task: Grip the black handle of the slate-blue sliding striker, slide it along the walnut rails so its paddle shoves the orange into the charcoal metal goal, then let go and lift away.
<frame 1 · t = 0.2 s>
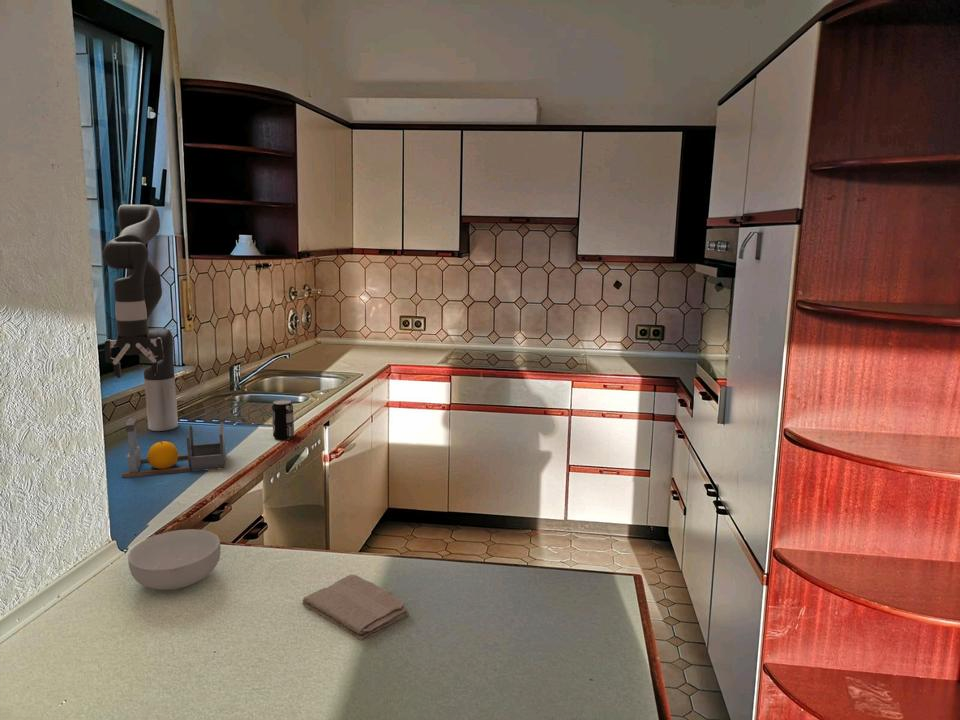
hand: (136, 376, 195), 27 cm above the counter, tool pointing down, fingers open, 8 cm apart
striker: (132, 445, 200), point 7 cm above the counter, slide at 0.0 cm
goal: (207, 462, 207), on the counter
beverage can: (283, 438, 232), on the counter
orange: (164, 467, 204), on the counter
cereal bowl: (177, 581, 142), on the counter
washcloth: (355, 613, 132), on the counter
rails: (148, 468, 203), on the counter
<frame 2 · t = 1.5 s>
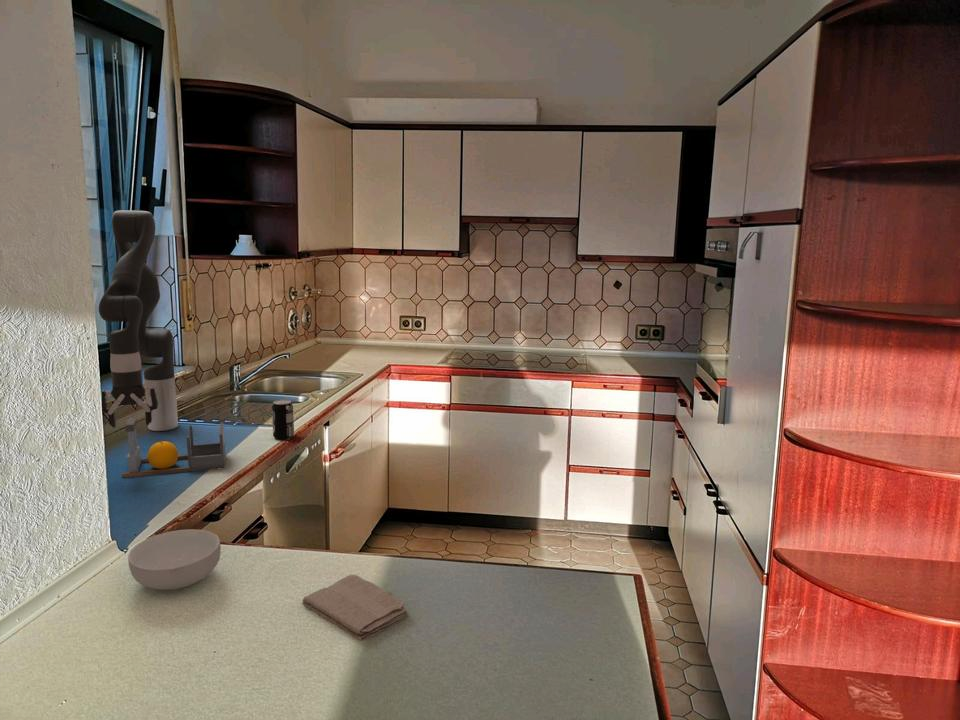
hand: (131, 425, 199), 13 cm above the counter, tool pointing down, fingers open, 8 cm apart
nothing on the counter moved.
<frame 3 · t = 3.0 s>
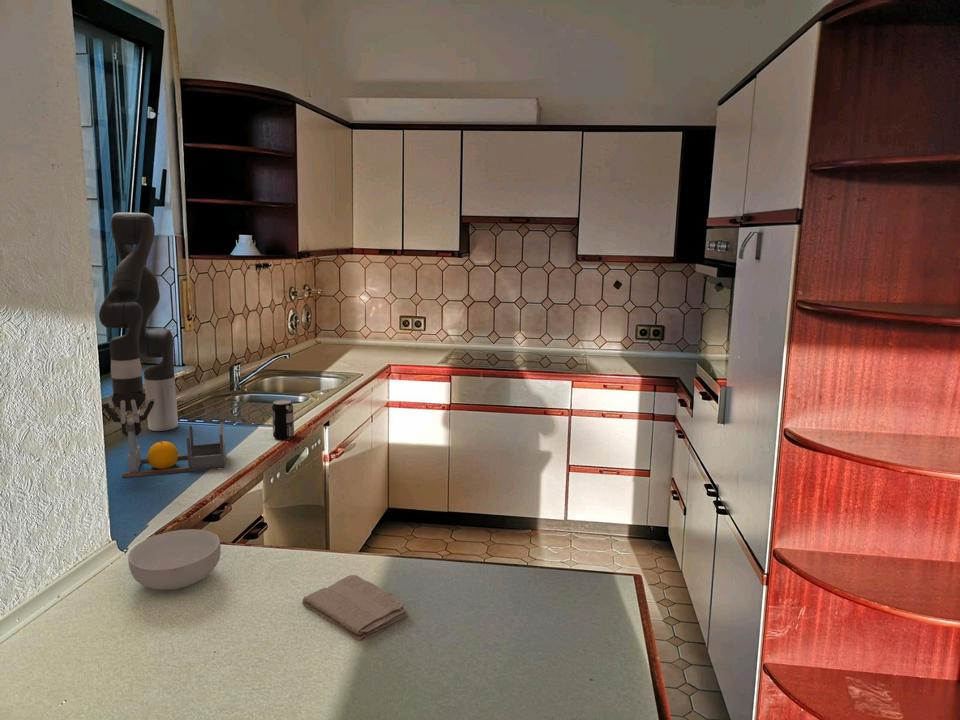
hand: (132, 435, 200), 10 cm above the counter, tool pointing down, fingers closed on striker, 2 cm apart
striker: (133, 445, 200), point 7 cm above the counter, slide at 0.0 cm, touching gripper
everything else where it was.
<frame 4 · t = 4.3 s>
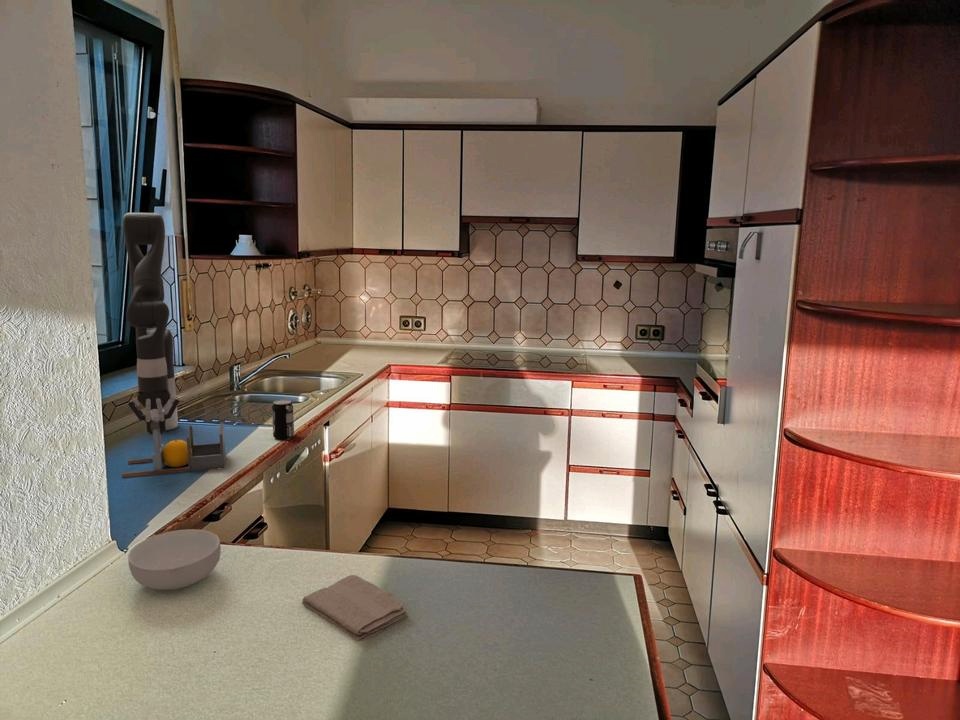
hand: (156, 433, 202), 10 cm above the counter, tool pointing down, fingers closed on striker, 2 cm apart
striker: (157, 443, 202), point 7 cm above the counter, slide at 6.3 cm, touching orange, gripper
orange: (178, 465, 205), on the counter, touching striker
everything else where it was.
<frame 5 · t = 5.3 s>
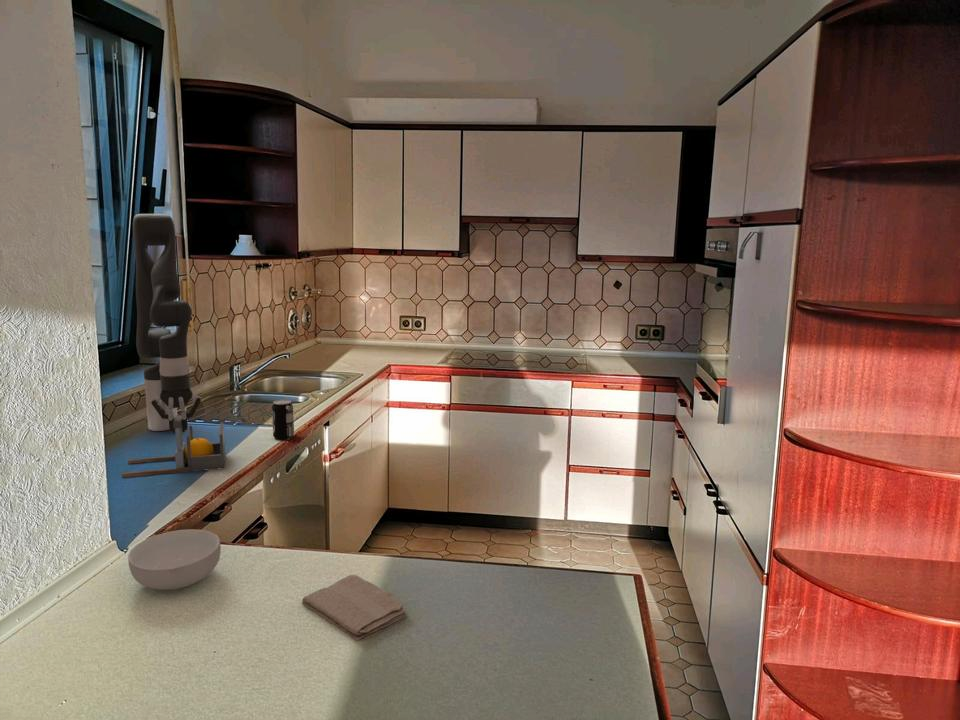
hand: (178, 431, 203), 10 cm above the counter, tool pointing down, fingers closed on striker, 2 cm apart
striker: (179, 441, 204), point 7 cm above the counter, slide at 12.1 cm, touching orange, gripper
orange: (199, 463, 207), on the counter, touching striker
everything else where it was.
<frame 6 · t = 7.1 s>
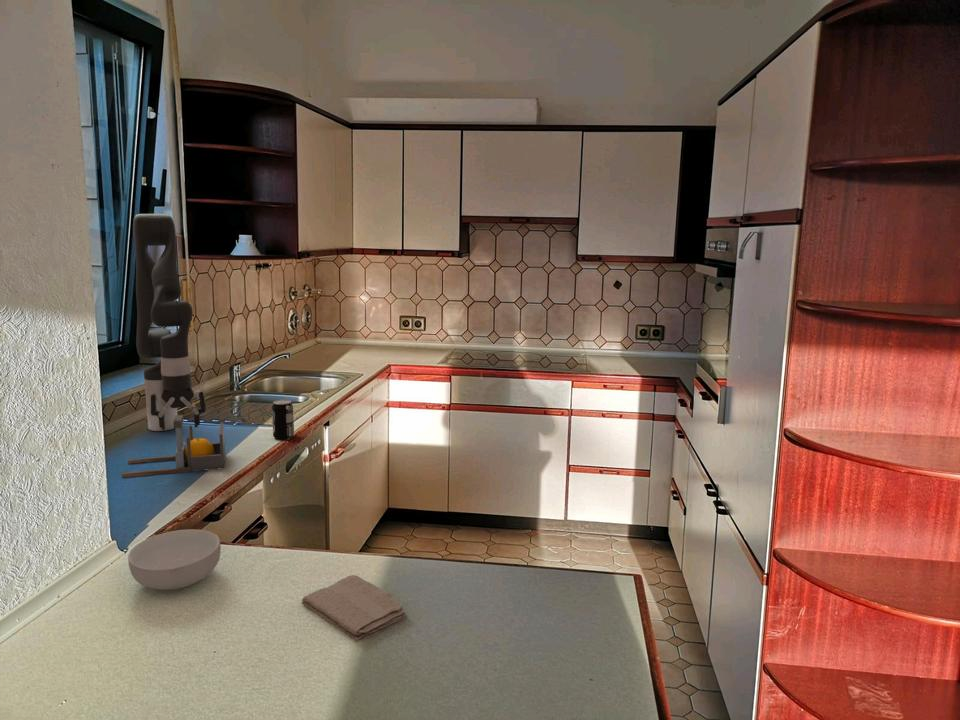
hand: (180, 427, 203), 11 cm above the counter, tool pointing down, fingers open, 8 cm apart
striker: (179, 441, 204), point 7 cm above the counter, slide at 12.2 cm
orange: (200, 464, 207), on the counter
everything else where it was.
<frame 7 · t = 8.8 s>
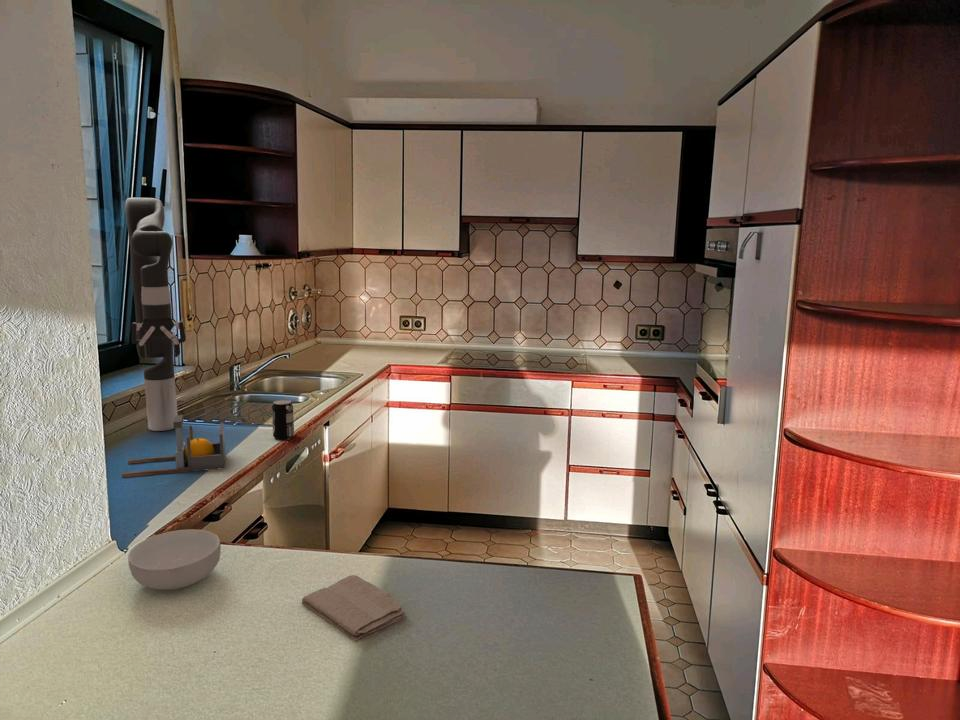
hand: (160, 357, 208), 30 cm above the counter, tool pointing down, fingers open, 8 cm apart
nothing on the counter moved.
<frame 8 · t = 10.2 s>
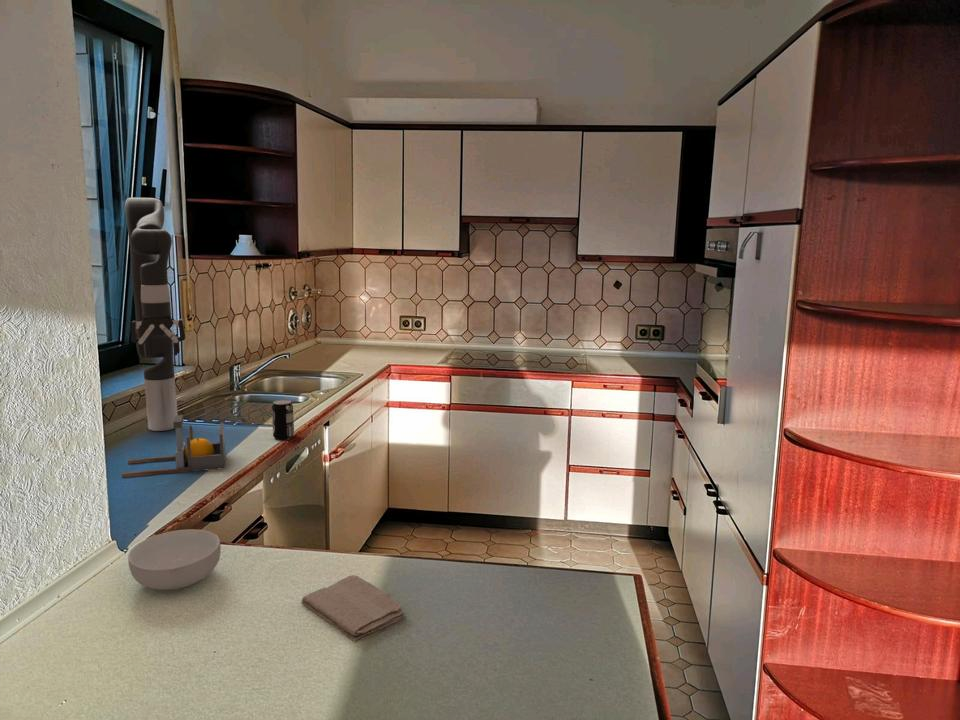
hand: (160, 355, 208), 30 cm above the counter, tool pointing down, fingers open, 8 cm apart
nothing on the counter moved.
at the end: orange inside the target area (3.2 cm from its centre), on the counter; striker slide at 12.2 cm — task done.
